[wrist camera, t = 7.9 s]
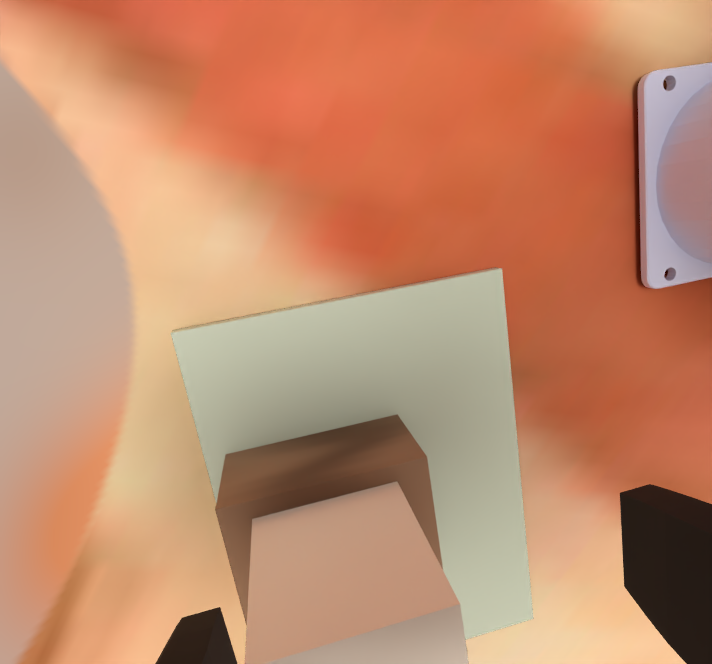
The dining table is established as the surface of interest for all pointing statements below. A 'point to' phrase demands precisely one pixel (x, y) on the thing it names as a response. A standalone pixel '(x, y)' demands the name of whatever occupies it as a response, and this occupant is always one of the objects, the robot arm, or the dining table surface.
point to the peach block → (350, 586)
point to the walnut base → (319, 481)
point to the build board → (387, 409)
